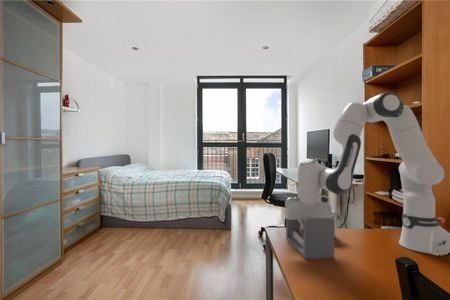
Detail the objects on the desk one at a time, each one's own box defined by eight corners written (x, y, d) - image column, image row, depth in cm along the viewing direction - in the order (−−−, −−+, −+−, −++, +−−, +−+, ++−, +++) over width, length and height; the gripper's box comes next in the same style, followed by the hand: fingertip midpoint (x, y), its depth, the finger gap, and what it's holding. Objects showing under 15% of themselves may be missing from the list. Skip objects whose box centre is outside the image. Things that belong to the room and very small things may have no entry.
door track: (286, 238, 119) (286, 206, 119) (310, 237, 120) (310, 205, 120) (305, 259, 97) (305, 219, 97) (334, 257, 98) (334, 219, 98)
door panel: (299, 236, 115) (299, 215, 115) (305, 236, 115) (305, 214, 115) (310, 247, 103) (310, 223, 103) (317, 246, 103) (317, 222, 103)
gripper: (287, 199, 104) (287, 232, 105) (333, 198, 106) (333, 230, 106) (282, 196, 111) (282, 227, 111) (326, 195, 113) (326, 225, 113)
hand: (308, 228), depth 109 cm, fingers closed on door panel, 3 cm apart
